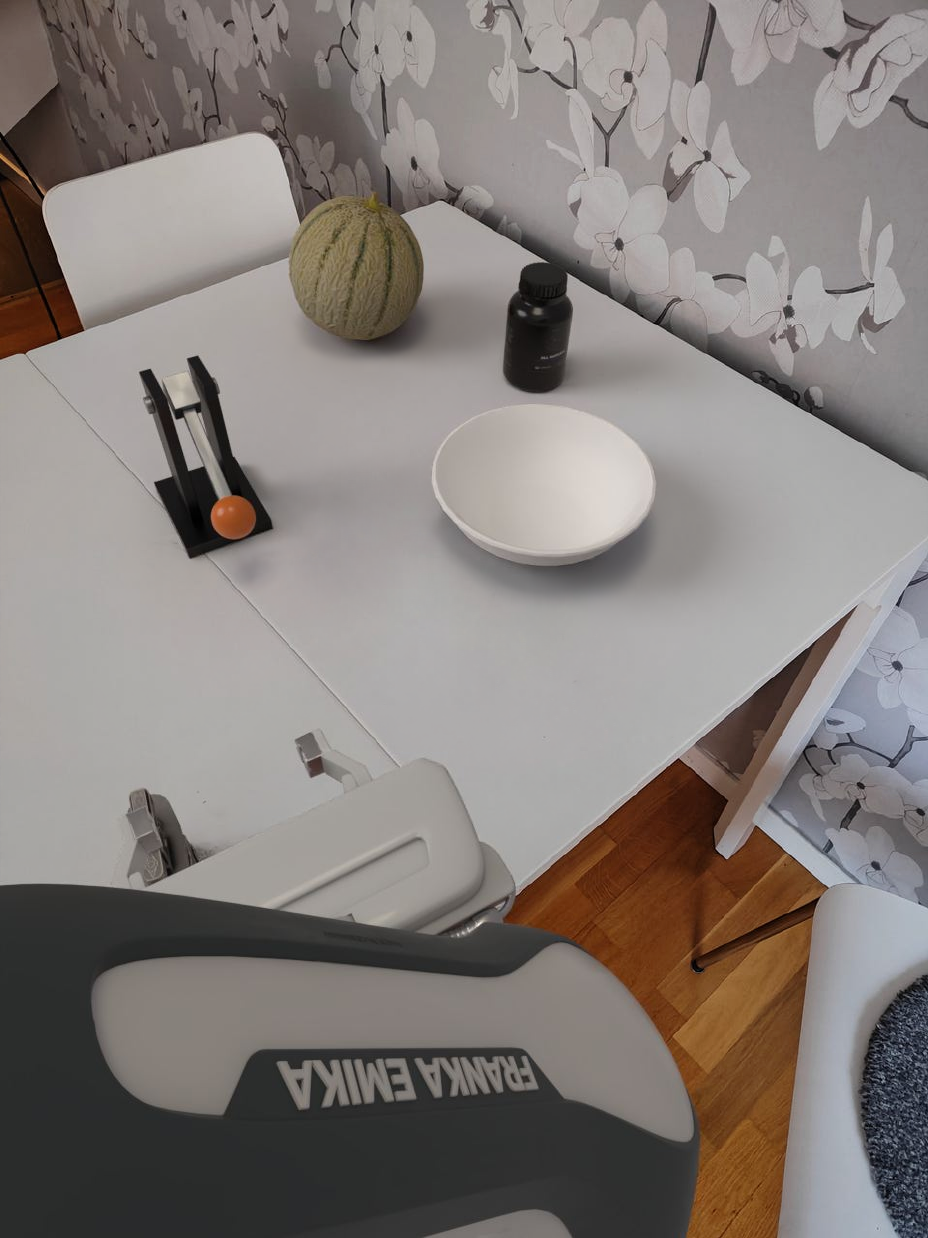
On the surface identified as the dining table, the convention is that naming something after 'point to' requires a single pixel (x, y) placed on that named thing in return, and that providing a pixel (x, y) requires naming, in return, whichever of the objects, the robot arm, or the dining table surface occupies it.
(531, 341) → the supplement bottle
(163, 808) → the lighter
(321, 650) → the dining table surface
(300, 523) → the dining table surface
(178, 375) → the switch
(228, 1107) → the robot arm
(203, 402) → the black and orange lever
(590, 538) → the bowl
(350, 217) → the cantaloupe
